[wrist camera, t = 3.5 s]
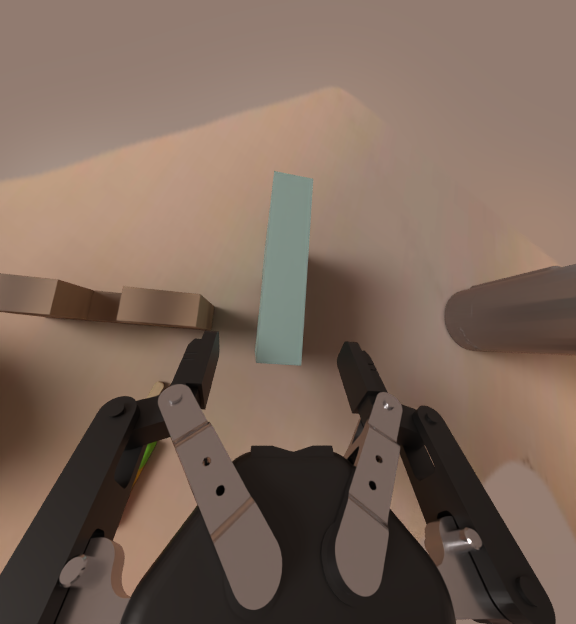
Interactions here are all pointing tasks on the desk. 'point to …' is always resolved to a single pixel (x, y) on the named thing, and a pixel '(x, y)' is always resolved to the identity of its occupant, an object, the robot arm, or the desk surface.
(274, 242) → the teal board
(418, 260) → the desk surface
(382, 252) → the desk surface
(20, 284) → the brown wooden block
